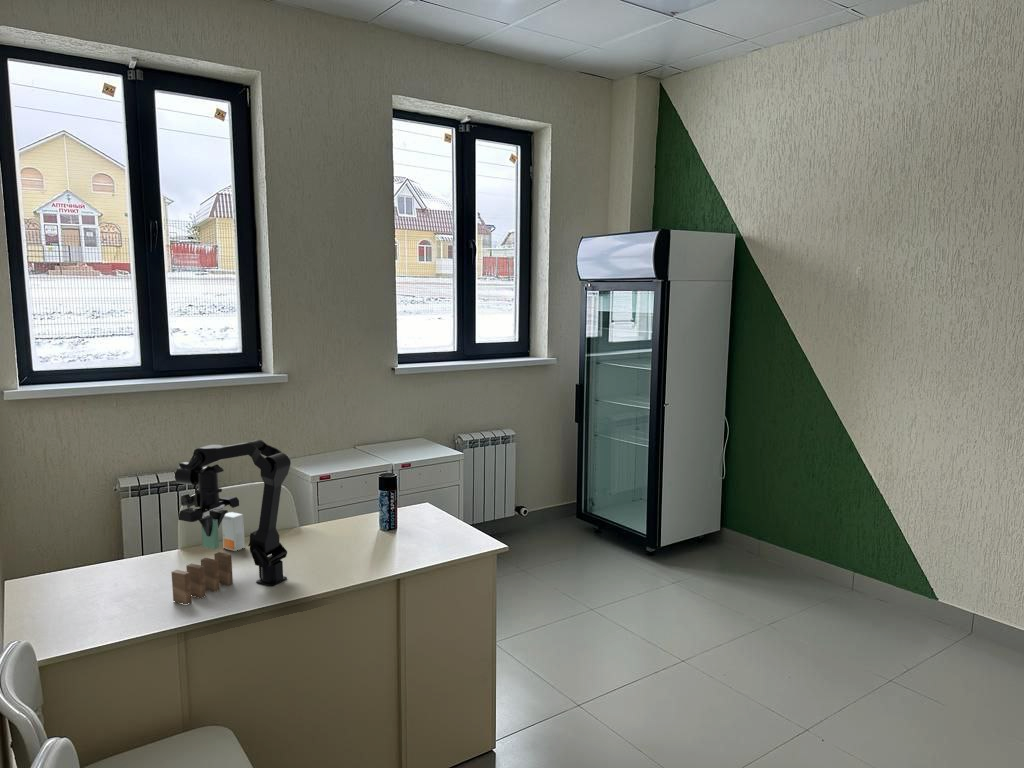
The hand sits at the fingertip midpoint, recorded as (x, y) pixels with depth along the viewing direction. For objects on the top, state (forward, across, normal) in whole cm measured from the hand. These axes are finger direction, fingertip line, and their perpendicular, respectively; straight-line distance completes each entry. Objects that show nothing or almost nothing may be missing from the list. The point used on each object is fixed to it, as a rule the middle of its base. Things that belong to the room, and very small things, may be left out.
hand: (211, 535), depth 218 cm
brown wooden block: (+12, +20, +10) cm, 25 cm away
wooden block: (+12, +5, +10) cm, 16 cm away
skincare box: (+12, -18, -10) cm, 24 cm away
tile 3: (+12, +10, +10) cm, 18 cm away
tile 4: (+12, +15, +10) cm, 21 cm away
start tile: (+4, 0, 0) cm, 4 cm away
